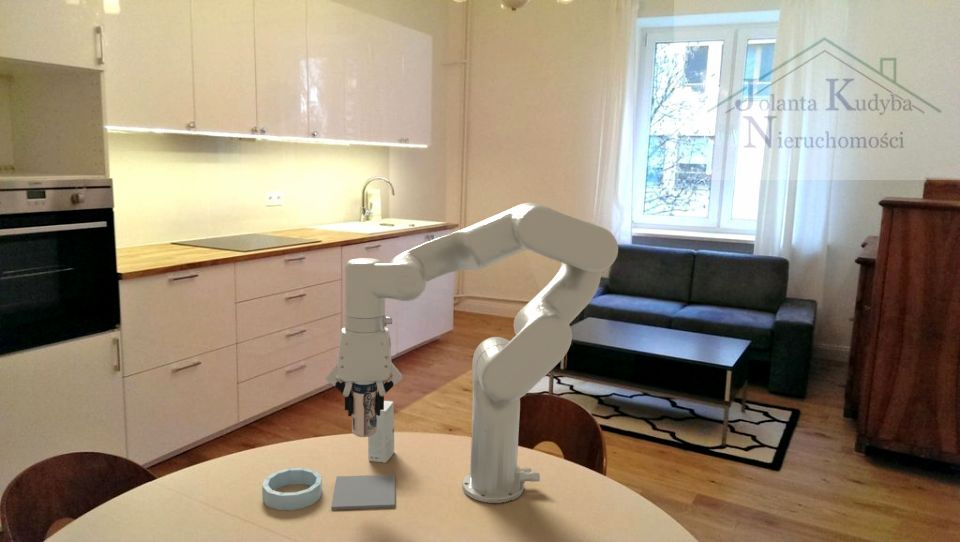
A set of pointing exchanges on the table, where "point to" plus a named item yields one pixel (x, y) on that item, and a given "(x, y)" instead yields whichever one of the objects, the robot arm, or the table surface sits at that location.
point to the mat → (364, 492)
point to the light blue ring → (292, 499)
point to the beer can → (364, 408)
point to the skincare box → (383, 435)
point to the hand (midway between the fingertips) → (364, 412)
